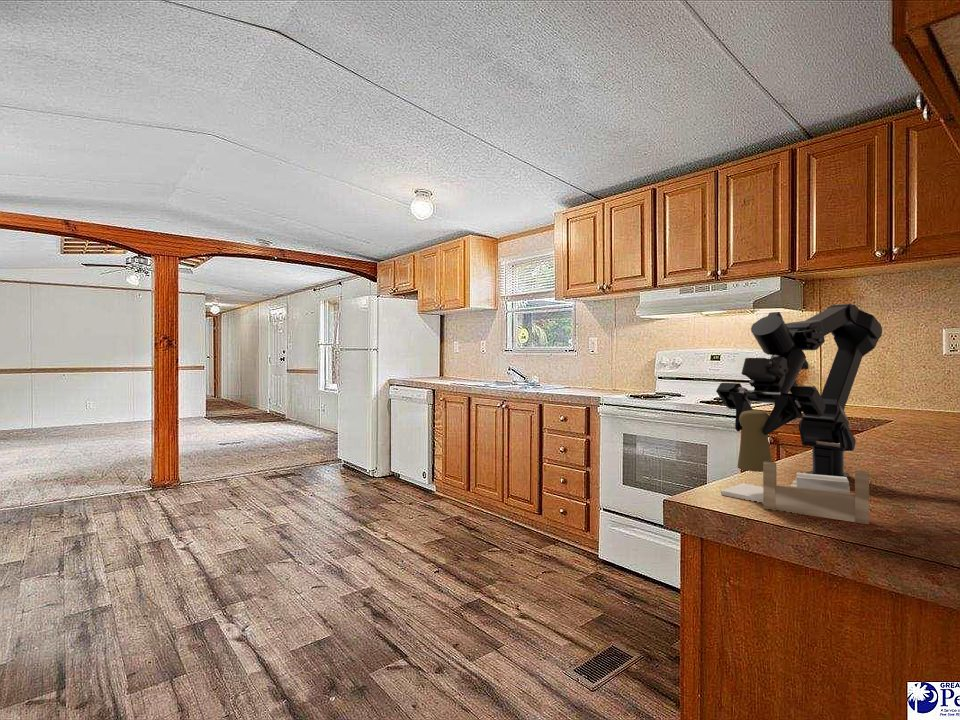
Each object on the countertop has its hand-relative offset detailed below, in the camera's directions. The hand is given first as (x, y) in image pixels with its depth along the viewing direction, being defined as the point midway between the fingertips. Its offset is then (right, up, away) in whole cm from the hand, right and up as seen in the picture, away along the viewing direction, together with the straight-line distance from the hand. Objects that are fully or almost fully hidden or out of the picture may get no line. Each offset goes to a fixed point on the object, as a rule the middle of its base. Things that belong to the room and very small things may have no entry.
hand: (750, 431), depth 99 cm
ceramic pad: (+1, -12, +1) cm, 12 cm away
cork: (+1, -7, +1) cm, 7 cm away
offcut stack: (+13, -12, -1) cm, 17 cm away
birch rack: (+5, -12, -11) cm, 17 cm away
